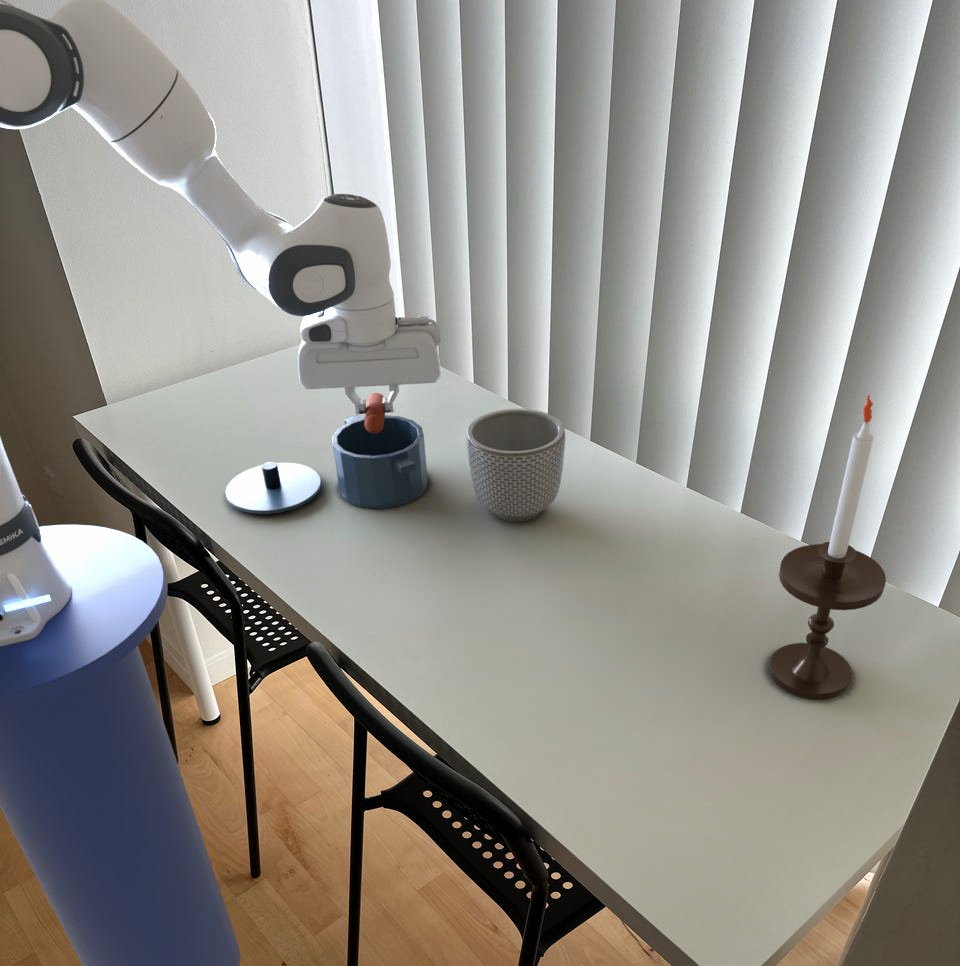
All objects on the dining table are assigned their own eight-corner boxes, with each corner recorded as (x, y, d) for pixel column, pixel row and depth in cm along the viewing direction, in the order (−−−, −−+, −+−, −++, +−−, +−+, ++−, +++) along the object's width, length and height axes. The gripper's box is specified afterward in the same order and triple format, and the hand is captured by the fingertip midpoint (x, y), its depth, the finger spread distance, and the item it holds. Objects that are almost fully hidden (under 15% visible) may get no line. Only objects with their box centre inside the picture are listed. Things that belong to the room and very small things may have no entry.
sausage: (387, 427, 141) (371, 415, 139) (375, 440, 142) (359, 428, 141) (390, 397, 148) (375, 386, 147) (378, 410, 150) (364, 399, 148)
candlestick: (810, 717, 109) (879, 430, 87) (741, 665, 116) (789, 387, 94) (878, 681, 113) (960, 398, 91) (808, 633, 120) (868, 359, 98)
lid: (247, 528, 144) (241, 500, 141) (213, 486, 154) (207, 460, 151) (337, 498, 150) (333, 470, 147) (299, 460, 160) (294, 434, 157)
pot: (371, 526, 143) (365, 474, 138) (318, 473, 156) (310, 424, 151) (452, 498, 148) (448, 447, 143) (393, 449, 161) (388, 401, 156)
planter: (583, 506, 145) (585, 426, 137) (520, 546, 137) (519, 464, 129) (513, 476, 153) (512, 399, 144) (450, 513, 145) (445, 433, 137)
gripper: (439, 307, 138) (445, 398, 147) (294, 314, 138) (309, 405, 147) (439, 324, 133) (445, 417, 142) (288, 332, 133) (304, 424, 142)
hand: (375, 411), depth 144 cm, fingers closed on sausage, 3 cm apart
